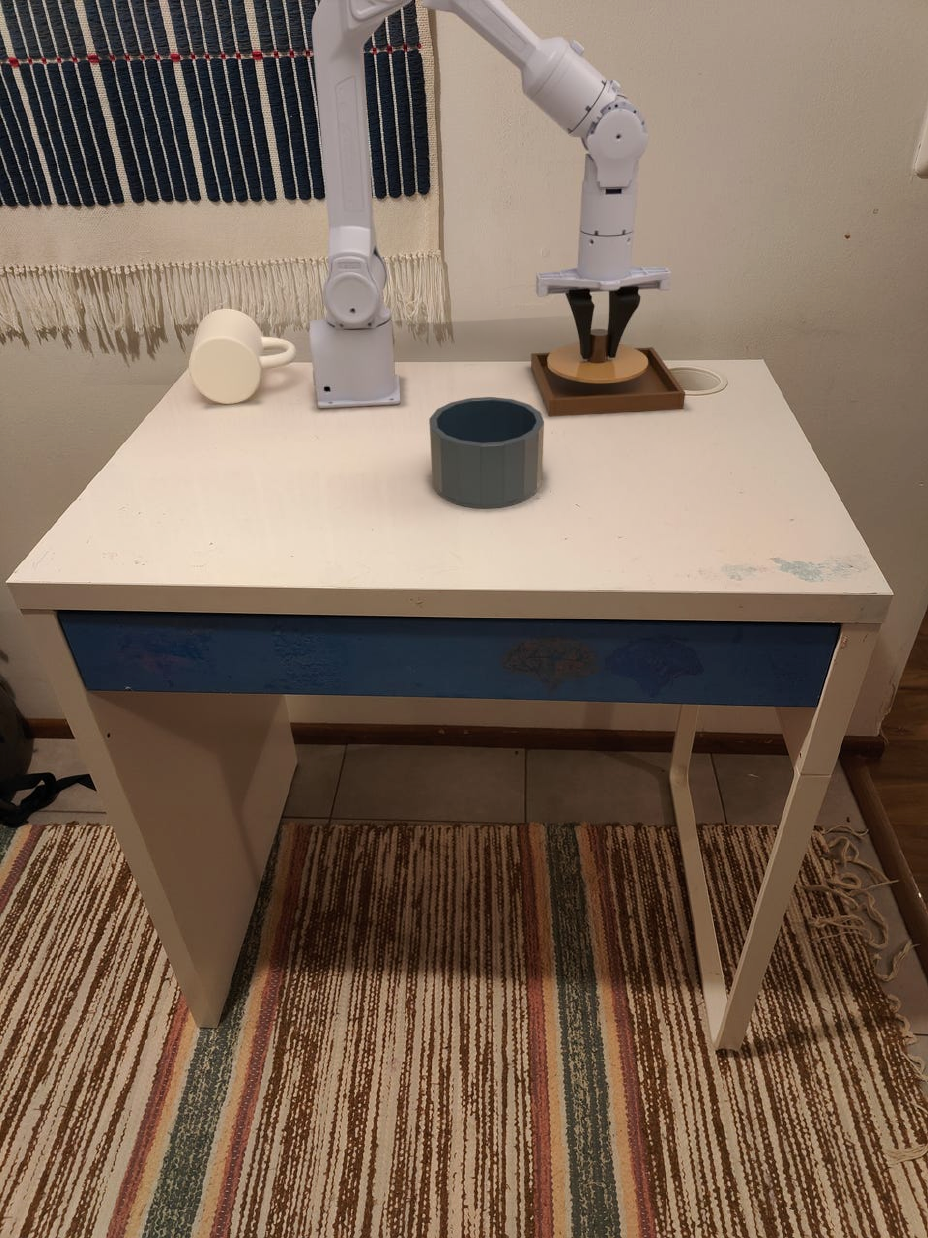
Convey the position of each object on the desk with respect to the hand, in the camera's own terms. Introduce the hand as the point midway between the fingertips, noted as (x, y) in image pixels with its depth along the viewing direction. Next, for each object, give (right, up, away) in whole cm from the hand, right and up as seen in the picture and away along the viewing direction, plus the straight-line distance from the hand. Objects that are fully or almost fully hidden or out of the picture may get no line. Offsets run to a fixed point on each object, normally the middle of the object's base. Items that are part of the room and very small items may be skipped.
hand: (597, 355), depth 99 cm
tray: (+1, -3, +2) cm, 4 cm away
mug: (-41, -2, +5) cm, 42 cm away
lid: (0, -1, +1) cm, 1 cm away
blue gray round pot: (-13, -17, -15) cm, 26 cm away
